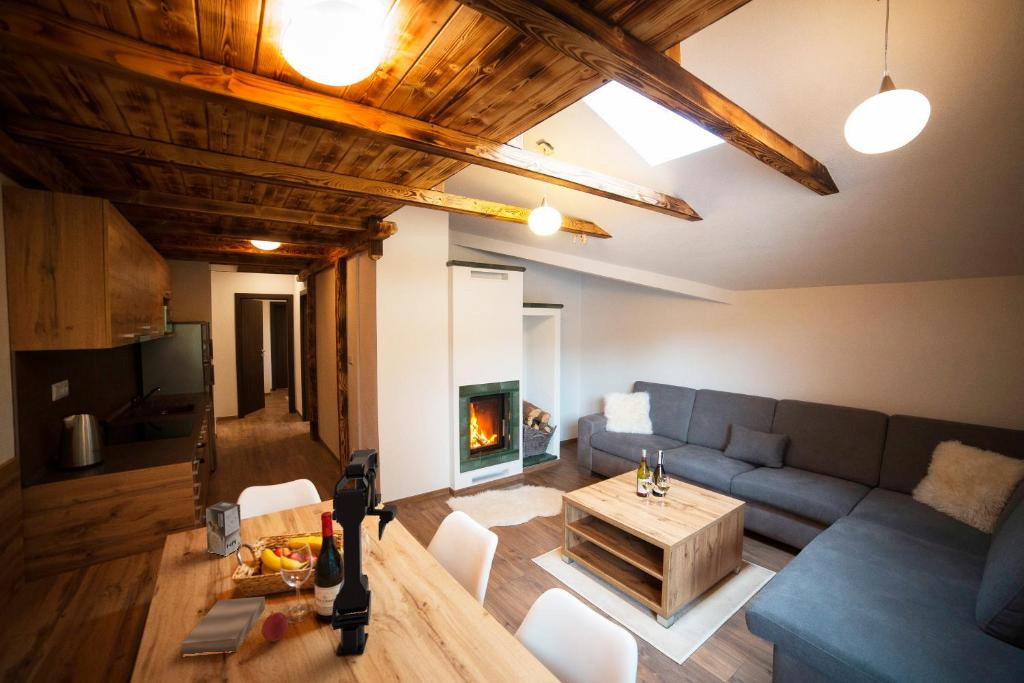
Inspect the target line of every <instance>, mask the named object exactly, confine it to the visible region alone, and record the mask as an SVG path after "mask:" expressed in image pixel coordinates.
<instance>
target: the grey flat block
mask: <svg viewBox="0 0 1024 683" xmlns="http://www.w3.org/2000/svg"><path fill="white" fill-rule="evenodd" d="M265 600H266V598H265V596H256V597H242V598H241V597H240V598H231V599H230V598H229V599H218V600H217V602H216V603H215V604H214V605H213V606H212V607H211V609H209V611H208V612H207V613H206V615H205V616H204V617H203V618H202V619H201V621H200V622H199V623H198V624H197V625H196V626H195V628H194V629H193V630H192V631H191V632H190V633H189V635H188V636H187V637H186V638H185V640H183V642H182V643H181V644H182V645H181V646H182V647H181V649H182V650H181V651H182V655H183V654H195V653H203V652H225V651H227V652H229V651H232V652H233V651H234V652H236V651H237V652H238V650H239V649H240V647H241V646H242V644H243V643H244V641H245V640H244V639H246V638H247V637H246V636H248V635H249V634H250V632H251V631H252V629H253V628H254V626H255V625H254V624H257V622H258V620H259V619H260V617H261V615H262V614H263V612H264V611H265V609H266V601H265ZM252 627H253V628H252ZM250 630H251V631H250ZM249 631H250V632H249ZM248 633H249V634H248ZM247 634H248V635H247ZM245 637H246V638H245ZM243 640H244V641H243ZM242 642H243V643H242ZM241 643H242V644H241ZM240 645H241V646H240ZM239 646H240V647H239ZM238 648H239V649H238ZM237 649H238V650H237ZM237 652H236V653H237Z"/></svg>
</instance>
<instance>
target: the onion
mask: <svg viewBox="0 0 1024 683" xmlns="http://www.w3.org/2000/svg"><path fill="white" fill-rule="evenodd" d="M288 625H289V620H288V618H287V616H286V615H285V614H284V613H283V612H281V611H280V612H279V611H277V610H272V611H271V612H270V614H269V615H268V616H267V617H266V618H265V620H264V621H263V624H262V627H261V635H262V637H263V638H264V639H265V640H267V641H270V642H273V643H275V642H277V641H279V640H280V639H281V638H283V636H284V635H285V633H286V632H287V630H288Z"/></svg>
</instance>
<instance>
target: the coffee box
mask: <svg viewBox="0 0 1024 683" xmlns="http://www.w3.org/2000/svg"><path fill="white" fill-rule="evenodd" d="M205 515H206V516H205V517H206V518H205V519H206V520H205V521H206V543H207V545H206V547H207V548H206V549H207V552H208V551H209V552H213V553H217V554H222V555H227V554H229V553H231V552H233V551H235V550H236V551H235V552H237V551H238V550H237V548H238V546H239V545H240V544H241V545H242V528H241V526H242V524H241V504H239V503H233V502H227V501H222V500H221V501H220V502H218V503H215V504H213V505H210V506H208V507H206V508H205Z"/></svg>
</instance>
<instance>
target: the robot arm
mask: <svg viewBox="0 0 1024 683" xmlns="http://www.w3.org/2000/svg"><path fill="white" fill-rule="evenodd" d="M344 468H345V469H344V473H343V475H342V476H341V477H340V479H339V480H338V481H337V482H336V484H335V485H334V486H335V487H334V491H333V497H332V498H333V499H332V509H333V510H332V513H331V521H335V523H337V524H339V525H340V527H341V528H342V539H343V540H342V541H343V542H342V544H343V546H342V547H343V549H342V550H343V578H342V581H341V583H340V585H339V589H338V593H337V594H336V595H335V598H334V600H333V601H332V602H333V603H332V610H331V611H332V612H331V626H332V627H331V628H332V631H336V630H339V633H340V642H339V644H338V646H337V651H336V653H335V656H336V657H342V656H352V655H363V654H364V653H365V648H366V646H367V643H368V639H369V633H368V632H366V631H365V626H368V627H369V625H370V619H371V616H372V615H371V614H372V613H371V612H372V590H371V589H370V586H369V576H368V575H367V574H364V573H363V556H362V555H363V554H362V552H363V550H362V549H363V547H362V523H363V521H364V519H365V518H366V516H368V517H369V516H371V517H372V516H373V517H374V516H375V517H376V516H377V517H379V518H378V519H379V521H378V525H377V526H378V530H377V531H378V532H377V533H378V537H377V538H378V541H382V539H383V534H384V532H385V529H386V526H387V524H389V523H390V522H393V521H394V519H395V518H396V517H397V515H398V513H399V512H398V506H397V505H395V504H385V505H383V507H382V508H377V507H378V506H379V505H380V504H381V500H382V493H381V492H380V493H379V492H377V489H376V484H375V483H376V478H377V475H378V472H379V468H380V458H379V452H378V451H377V450H376V449H375V448H371V449H370V448H369V449H368V448H367V449H355V450H354V451H353V453H351V456H350V457H349V464H346V465H345V467H344ZM350 480H355V481H354V486H355V487H354V488H349V489H348V488H346V489H345V488H344V487H345V486H346V485H347V484H348V482H349V481H350Z"/></svg>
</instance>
